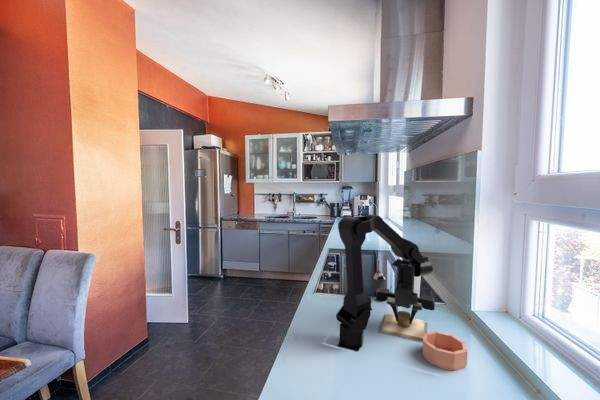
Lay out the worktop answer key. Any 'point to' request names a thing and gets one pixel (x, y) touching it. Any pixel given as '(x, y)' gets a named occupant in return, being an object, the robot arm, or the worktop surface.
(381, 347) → the worktop surface
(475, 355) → the worktop surface
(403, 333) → the lid
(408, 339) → the mat
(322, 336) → the worktop surface
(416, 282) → the skincare box
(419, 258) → the robot arm
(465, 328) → the worktop surface
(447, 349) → the bowl
